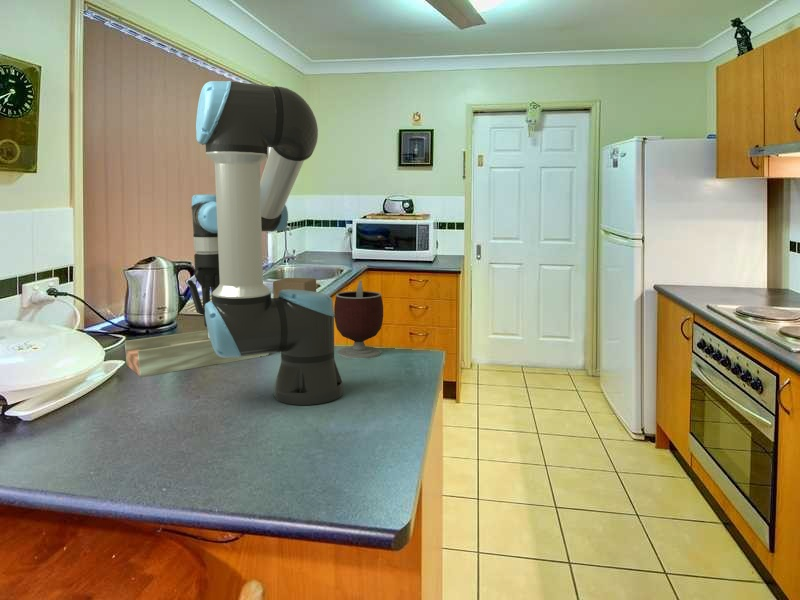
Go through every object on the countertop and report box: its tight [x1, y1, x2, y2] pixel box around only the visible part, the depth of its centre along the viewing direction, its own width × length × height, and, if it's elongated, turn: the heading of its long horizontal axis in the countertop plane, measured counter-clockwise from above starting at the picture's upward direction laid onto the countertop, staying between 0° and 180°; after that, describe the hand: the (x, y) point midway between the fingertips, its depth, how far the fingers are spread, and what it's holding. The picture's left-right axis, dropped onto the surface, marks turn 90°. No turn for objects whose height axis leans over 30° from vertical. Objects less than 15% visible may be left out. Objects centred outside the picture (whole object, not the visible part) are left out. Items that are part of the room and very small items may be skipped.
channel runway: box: [124, 329, 270, 378], centre depth 155 cm, size 14×34×6 cm, turn 129°
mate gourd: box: [333, 279, 384, 359], centre depth 163 cm, size 16×14×20 cm
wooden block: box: [272, 277, 317, 298], centre depth 171 cm, size 10×10×20 cm
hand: (212, 338), depth 157 cm, fingers closed
